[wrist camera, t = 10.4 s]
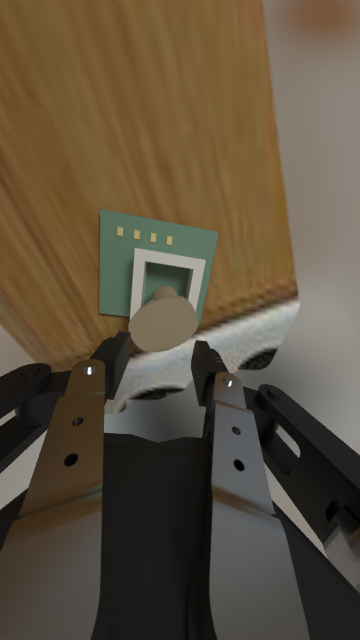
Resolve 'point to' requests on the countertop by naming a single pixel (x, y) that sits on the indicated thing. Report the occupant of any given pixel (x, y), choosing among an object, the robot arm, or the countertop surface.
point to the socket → (169, 259)
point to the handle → (163, 321)
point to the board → (154, 235)
